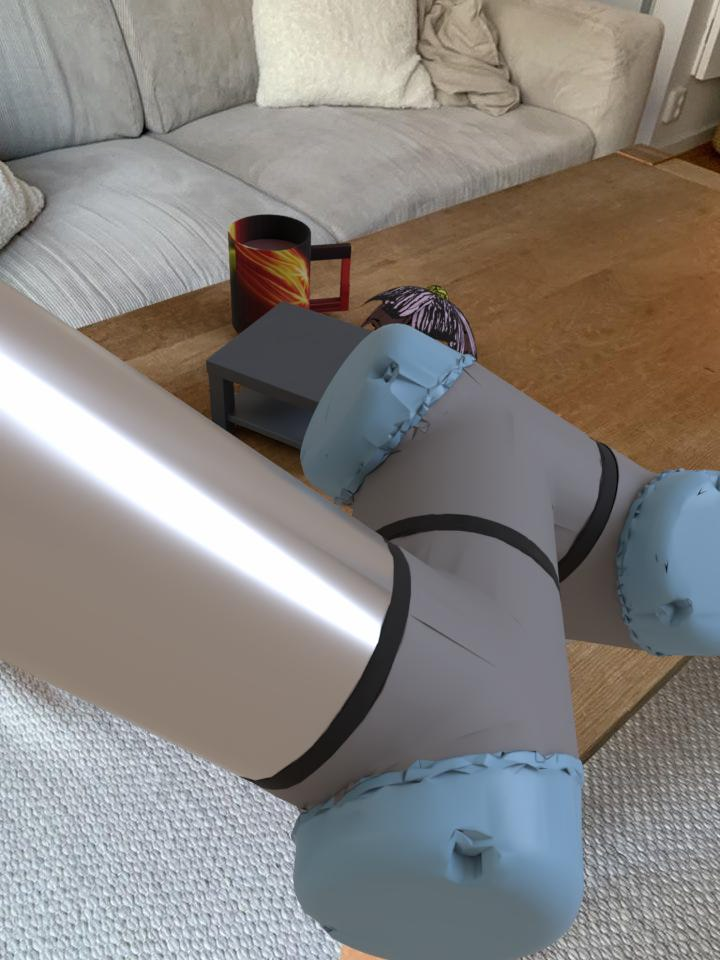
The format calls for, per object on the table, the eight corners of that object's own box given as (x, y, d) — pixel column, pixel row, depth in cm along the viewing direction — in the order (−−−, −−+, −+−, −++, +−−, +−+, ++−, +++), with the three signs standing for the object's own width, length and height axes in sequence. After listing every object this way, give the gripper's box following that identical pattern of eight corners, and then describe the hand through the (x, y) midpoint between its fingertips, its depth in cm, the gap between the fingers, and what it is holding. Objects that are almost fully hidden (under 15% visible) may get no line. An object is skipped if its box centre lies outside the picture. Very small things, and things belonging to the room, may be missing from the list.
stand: (210, 432, 86) (205, 359, 80) (282, 369, 95) (282, 300, 89) (326, 479, 81) (330, 406, 75) (389, 408, 91) (397, 338, 85)
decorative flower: (522, 300, 91) (417, 290, 82) (500, 401, 94) (397, 401, 86) (440, 279, 102) (340, 268, 93) (423, 370, 106) (325, 367, 97)
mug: (350, 318, 105) (356, 229, 97) (261, 351, 98) (259, 258, 90) (304, 287, 110) (306, 200, 102) (217, 317, 103) (211, 226, 95)
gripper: (386, 690, 42) (268, 648, 63) (661, 575, 49) (471, 572, 71) (345, 550, 42) (240, 555, 63) (626, 455, 49) (447, 489, 71)
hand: (362, 564), depth 67 cm, fingers closed on figurine, 6 cm apart
